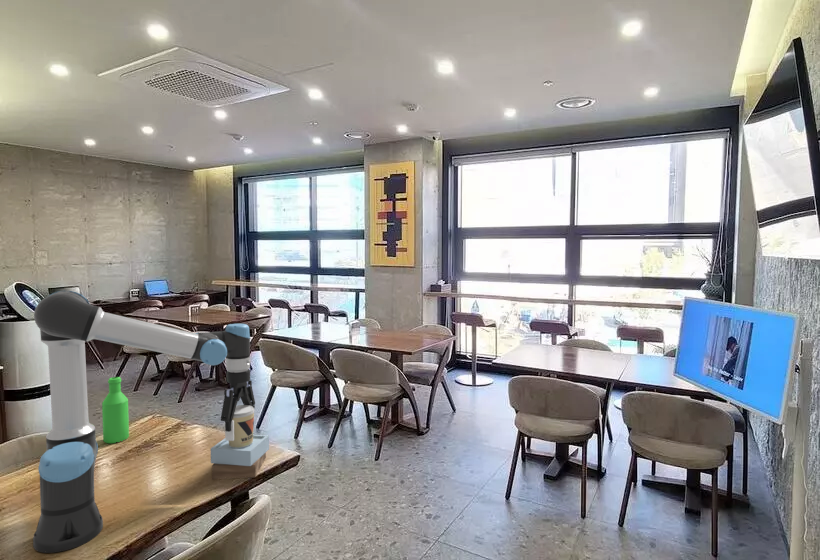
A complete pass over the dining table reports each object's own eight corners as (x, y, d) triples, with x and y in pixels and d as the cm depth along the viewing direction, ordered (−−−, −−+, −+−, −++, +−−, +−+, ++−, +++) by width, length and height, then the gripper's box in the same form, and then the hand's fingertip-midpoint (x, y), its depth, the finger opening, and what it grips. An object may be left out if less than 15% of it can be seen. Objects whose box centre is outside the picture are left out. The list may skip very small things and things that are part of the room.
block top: (250, 466, 155) (250, 451, 155) (210, 463, 157) (210, 448, 157) (269, 449, 169) (269, 435, 169) (232, 446, 171) (232, 433, 171)
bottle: (127, 434, 195) (125, 374, 194) (131, 440, 188) (129, 378, 187) (101, 439, 189) (99, 377, 188) (104, 446, 183) (103, 382, 181)
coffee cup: (243, 451, 157) (241, 415, 156) (220, 446, 160) (219, 412, 159) (261, 439, 166) (260, 406, 165) (239, 436, 169) (238, 403, 168)
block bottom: (255, 479, 157) (255, 465, 156) (212, 480, 156) (211, 465, 155) (265, 461, 170) (265, 448, 170) (226, 462, 170) (225, 448, 169)
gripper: (230, 378, 148) (230, 447, 149) (264, 362, 172) (265, 422, 173) (208, 377, 150) (208, 446, 150) (245, 361, 173) (246, 421, 174)
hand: (239, 433), depth 161 cm, fingers open, 11 cm apart
